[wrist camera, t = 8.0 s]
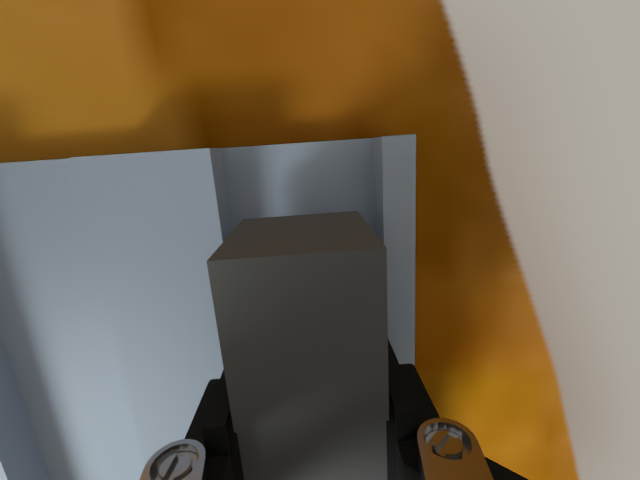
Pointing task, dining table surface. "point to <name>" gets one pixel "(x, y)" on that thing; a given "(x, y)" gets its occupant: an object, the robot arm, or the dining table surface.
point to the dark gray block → (305, 345)
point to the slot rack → (156, 285)
